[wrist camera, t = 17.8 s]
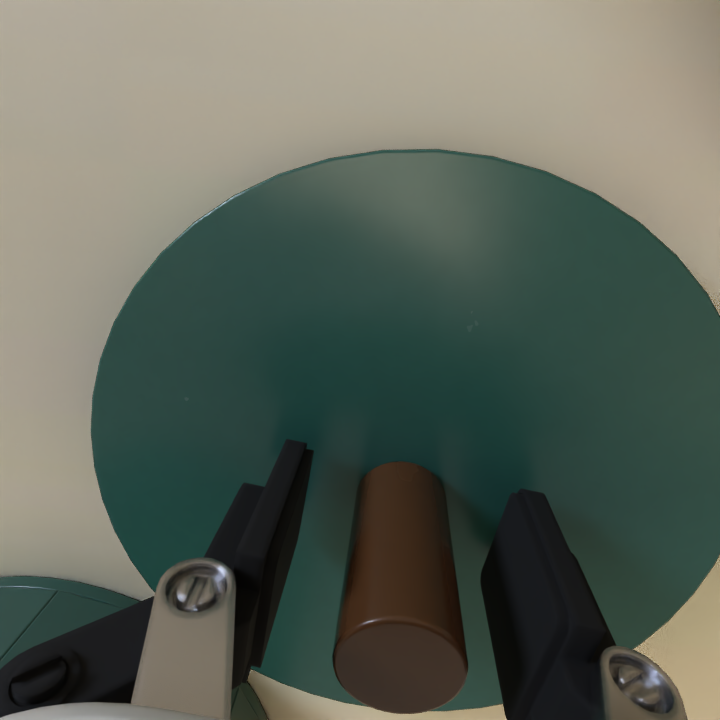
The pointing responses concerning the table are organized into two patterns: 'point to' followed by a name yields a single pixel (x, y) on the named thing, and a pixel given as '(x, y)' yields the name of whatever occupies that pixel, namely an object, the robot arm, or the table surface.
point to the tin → (74, 622)
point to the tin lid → (418, 408)
